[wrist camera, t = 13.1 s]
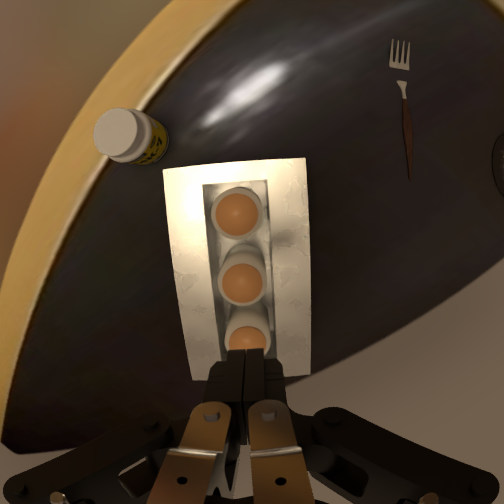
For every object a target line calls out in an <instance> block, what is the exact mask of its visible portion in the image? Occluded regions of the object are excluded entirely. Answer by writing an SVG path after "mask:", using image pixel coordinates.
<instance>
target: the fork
mask: <svg viewBox="0 0 504 504" xmlns="http://www.w3.org/2000/svg"><path fill="white" fill-rule="evenodd" d="M398 49H399V40H398V43H397V50H396V58H395V62H393V39H392V45H391V52H390V61H389V66H390V67H394V68H399V69H405V70H409V49H410V42H409V45H408V52H407V59H406V64H404V42H403V48H402V55H401V62H400V63H399V62H398ZM397 83H398V85H399V87H400V88H401V91H402V128H403V136H404V143H405V149H406V157H407V166H408V175H409V180H411V175H412V146H413V131H412V123H411V117H410V112H409V108H408V103H407V99H406V93H405V88H406V84H407V83H406V82H404V81H397Z"/></svg>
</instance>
